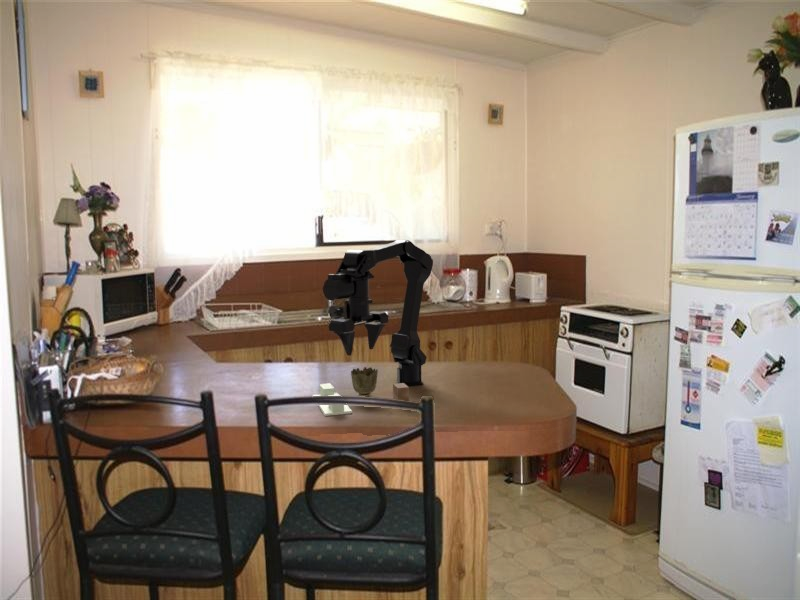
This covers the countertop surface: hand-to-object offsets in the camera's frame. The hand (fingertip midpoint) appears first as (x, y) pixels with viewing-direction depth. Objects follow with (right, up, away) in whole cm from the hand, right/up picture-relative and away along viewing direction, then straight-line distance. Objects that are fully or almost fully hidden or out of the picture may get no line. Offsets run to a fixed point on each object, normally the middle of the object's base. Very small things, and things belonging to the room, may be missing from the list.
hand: (360, 352), depth 175 cm
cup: (+1, -13, +1) cm, 13 cm away
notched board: (-7, -14, -5) cm, 16 cm away
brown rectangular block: (+11, -14, -4) cm, 18 cm away
